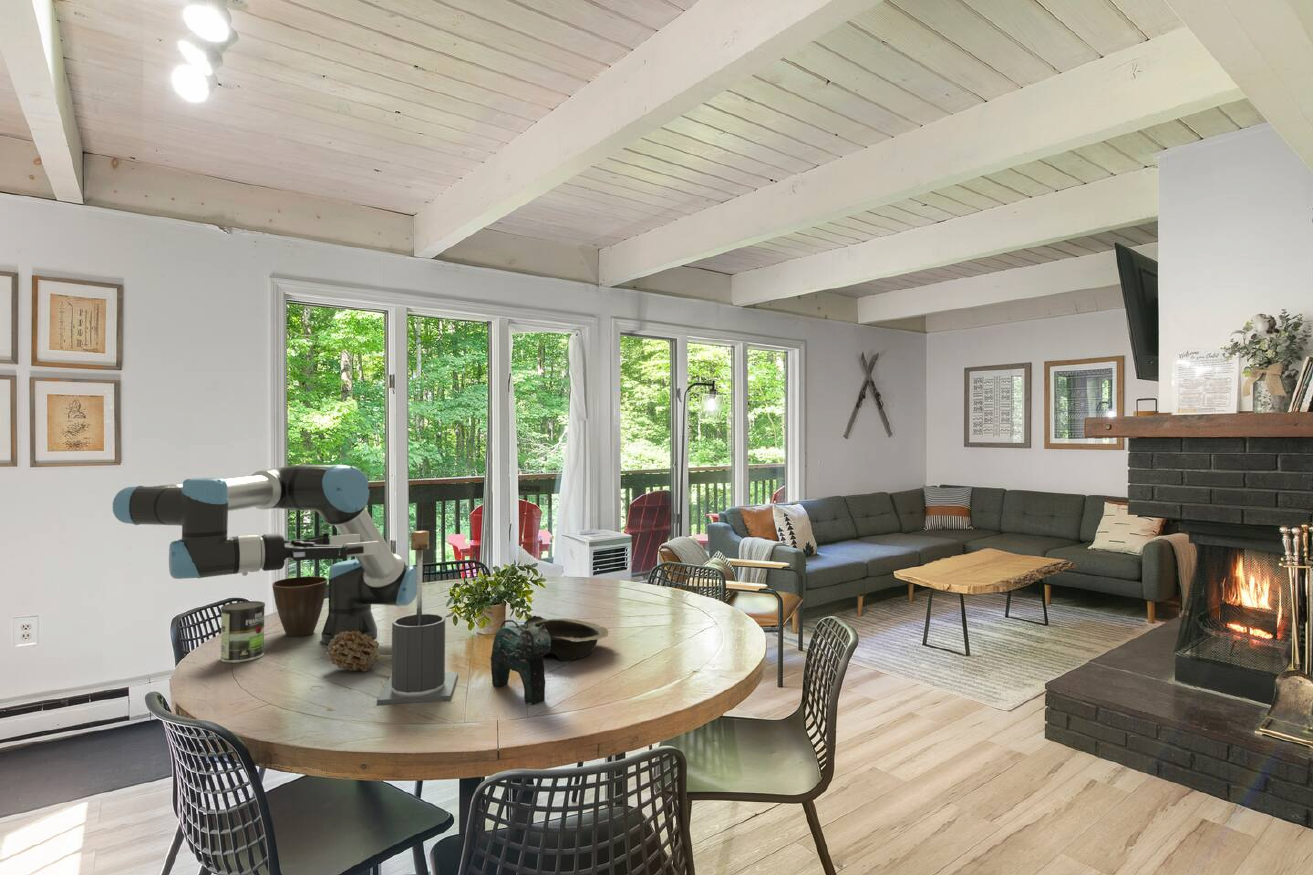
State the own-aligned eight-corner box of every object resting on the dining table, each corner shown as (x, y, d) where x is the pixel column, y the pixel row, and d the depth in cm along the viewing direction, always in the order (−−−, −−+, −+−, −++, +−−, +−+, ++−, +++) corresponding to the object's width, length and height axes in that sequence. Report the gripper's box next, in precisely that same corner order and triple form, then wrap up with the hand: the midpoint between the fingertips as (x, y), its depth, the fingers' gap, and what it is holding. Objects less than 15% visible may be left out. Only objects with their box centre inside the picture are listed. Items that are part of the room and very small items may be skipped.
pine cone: (316, 675, 173) (317, 635, 173) (338, 662, 182) (338, 625, 182) (399, 679, 170) (400, 639, 170) (417, 666, 180) (417, 628, 180)
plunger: (402, 639, 166) (403, 529, 166) (441, 637, 168) (442, 529, 168) (394, 650, 157) (395, 535, 157) (436, 649, 159) (437, 534, 159)
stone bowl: (501, 657, 188) (503, 622, 188) (555, 640, 210) (556, 610, 210) (576, 671, 176) (577, 634, 177) (625, 652, 198) (626, 619, 199)
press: (391, 679, 170) (391, 611, 170) (457, 675, 173) (458, 608, 173) (376, 704, 154) (377, 628, 154) (450, 699, 157) (451, 626, 157)
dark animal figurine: (553, 702, 157) (553, 615, 157) (529, 710, 152) (530, 620, 152) (506, 679, 171) (506, 599, 171) (483, 686, 166) (483, 603, 166)
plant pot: (311, 641, 201) (311, 586, 201) (261, 640, 201) (261, 586, 201) (336, 627, 216) (336, 576, 216) (289, 626, 216) (289, 575, 216)
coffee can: (273, 652, 190) (273, 601, 190) (244, 664, 180) (244, 610, 180) (241, 649, 193) (242, 599, 193) (210, 661, 182) (211, 608, 182)
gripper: (250, 562, 151) (352, 552, 164) (272, 581, 131) (386, 568, 145) (251, 528, 151) (352, 521, 164) (273, 542, 131) (386, 533, 145)
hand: (368, 543), depth 154 cm, fingers open, 13 cm apart
